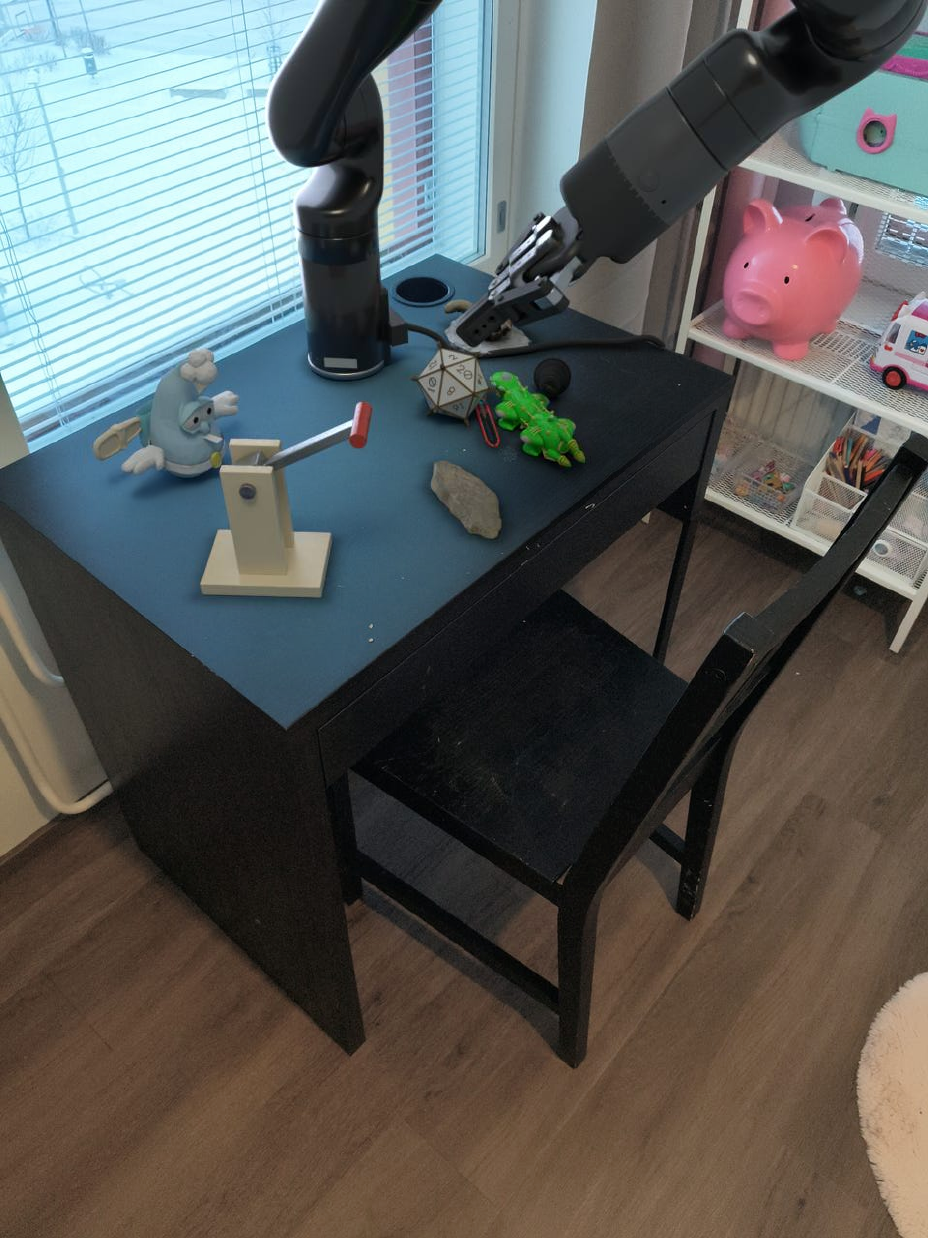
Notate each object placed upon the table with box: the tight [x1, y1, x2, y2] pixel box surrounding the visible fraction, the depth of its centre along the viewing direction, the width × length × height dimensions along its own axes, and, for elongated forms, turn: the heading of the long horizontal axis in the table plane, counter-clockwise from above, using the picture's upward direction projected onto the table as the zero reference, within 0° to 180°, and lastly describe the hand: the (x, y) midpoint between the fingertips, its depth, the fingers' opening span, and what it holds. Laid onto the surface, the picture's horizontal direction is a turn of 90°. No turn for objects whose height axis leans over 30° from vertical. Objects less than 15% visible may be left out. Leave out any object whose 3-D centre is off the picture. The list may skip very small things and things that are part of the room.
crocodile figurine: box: [489, 371, 586, 468], centre depth 110 cm, size 7×18×4 cm, turn 27°
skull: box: [443, 299, 533, 358], centre depth 125 cm, size 10×12×6 cm
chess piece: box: [533, 356, 572, 398], centre depth 112 cm, size 4×4×10 cm
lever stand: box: [200, 438, 333, 598], centre depth 90 cm, size 11×8×13 cm
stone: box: [430, 460, 502, 540], centre depth 102 cm, size 13×3×5 cm
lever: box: [234, 401, 373, 475], centre depth 85 cm, size 13×5×2 cm, turn 89°
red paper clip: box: [474, 393, 501, 448], centre depth 114 cm, size 2×14×1 cm, turn 10°
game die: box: [409, 341, 496, 427], centre depth 111 cm, size 9×8×10 cm
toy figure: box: [92, 348, 240, 479], centre depth 100 cm, size 17×10×15 cm, turn 151°
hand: (463, 335), depth 77 cm, fingers closed
